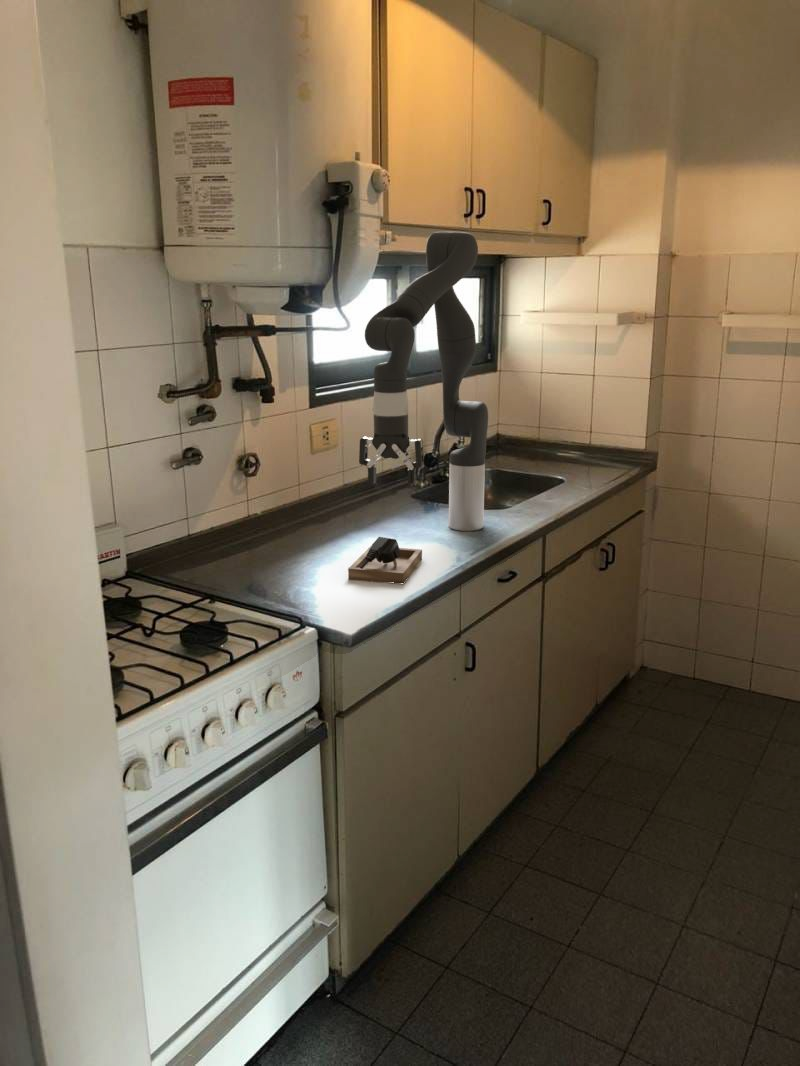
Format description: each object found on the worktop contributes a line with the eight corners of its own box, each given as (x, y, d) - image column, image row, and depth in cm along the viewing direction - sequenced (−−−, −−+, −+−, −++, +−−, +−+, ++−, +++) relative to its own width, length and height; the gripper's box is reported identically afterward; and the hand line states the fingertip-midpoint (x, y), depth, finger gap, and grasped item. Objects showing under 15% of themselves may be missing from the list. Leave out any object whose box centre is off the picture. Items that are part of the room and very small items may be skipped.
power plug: (350, 562, 185) (379, 528, 192) (359, 588, 189) (387, 554, 196) (370, 567, 182) (399, 532, 189) (379, 593, 186) (407, 558, 193)
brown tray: (371, 555, 202) (371, 545, 201) (422, 559, 199) (422, 549, 198) (348, 579, 186) (348, 568, 185) (403, 584, 183) (403, 573, 182)
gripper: (426, 410, 186) (426, 482, 191) (364, 408, 189) (366, 478, 194) (418, 415, 179) (418, 490, 184) (354, 413, 182) (356, 486, 187)
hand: (391, 484), depth 189 cm, fingers open, 8 cm apart
